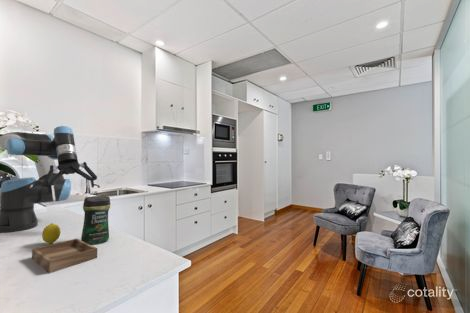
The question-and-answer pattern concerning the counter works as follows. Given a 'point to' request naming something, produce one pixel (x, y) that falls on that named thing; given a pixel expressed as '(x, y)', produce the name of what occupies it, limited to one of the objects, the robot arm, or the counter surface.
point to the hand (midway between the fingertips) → (73, 197)
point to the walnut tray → (63, 254)
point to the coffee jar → (96, 220)
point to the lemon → (51, 233)
